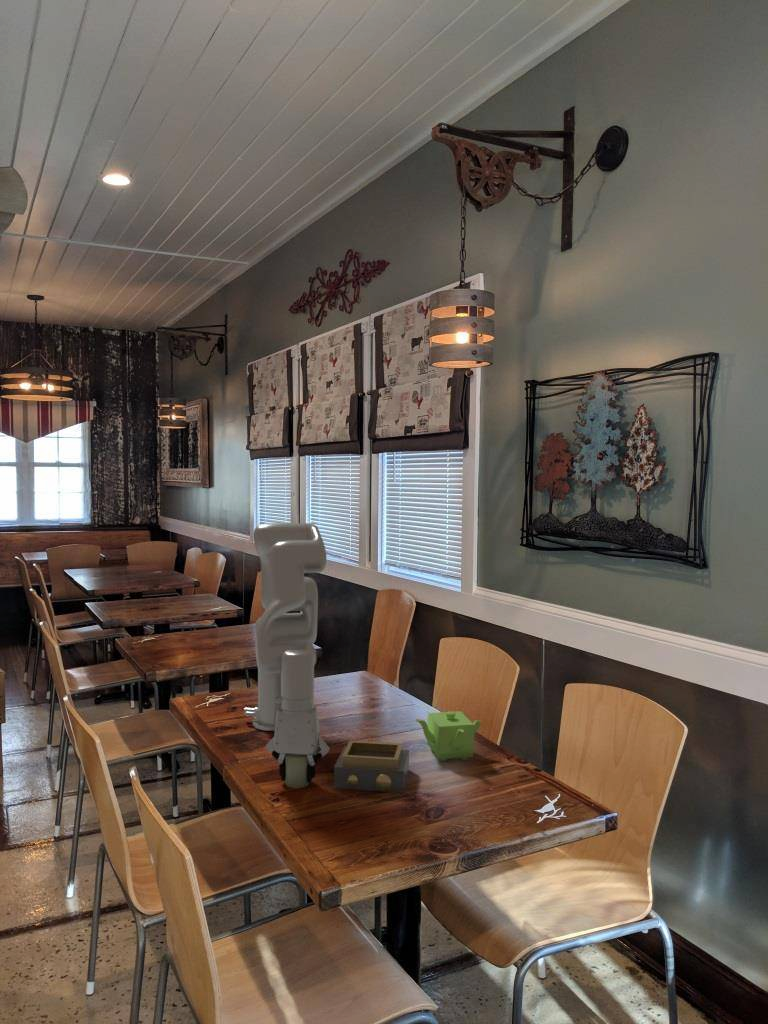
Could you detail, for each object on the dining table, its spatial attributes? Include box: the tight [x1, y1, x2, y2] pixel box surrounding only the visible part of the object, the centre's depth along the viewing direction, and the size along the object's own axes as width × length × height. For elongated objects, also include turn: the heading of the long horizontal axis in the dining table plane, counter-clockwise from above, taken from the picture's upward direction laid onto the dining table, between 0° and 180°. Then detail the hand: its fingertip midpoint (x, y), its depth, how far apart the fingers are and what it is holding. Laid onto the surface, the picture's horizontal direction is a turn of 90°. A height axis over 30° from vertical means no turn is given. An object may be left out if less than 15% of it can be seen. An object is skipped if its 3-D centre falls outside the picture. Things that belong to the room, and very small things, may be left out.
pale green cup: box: [284, 754, 310, 789], centre depth 176 cm, size 6×7×7 cm
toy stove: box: [333, 740, 410, 794], centre depth 177 cm, size 16×14×7 cm
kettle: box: [414, 710, 483, 763], centre depth 193 cm, size 15×14×11 cm
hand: (297, 778), depth 175 cm, fingers closed on pale green cup, 5 cm apart
